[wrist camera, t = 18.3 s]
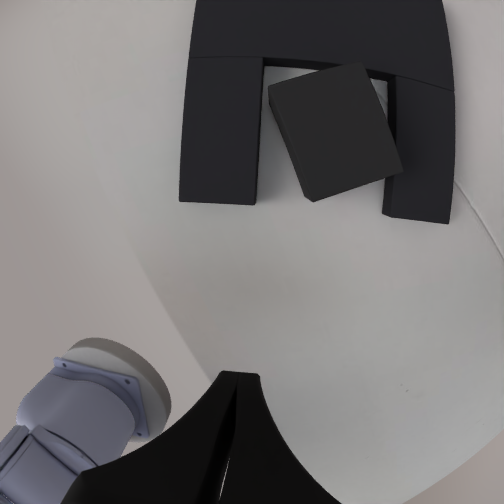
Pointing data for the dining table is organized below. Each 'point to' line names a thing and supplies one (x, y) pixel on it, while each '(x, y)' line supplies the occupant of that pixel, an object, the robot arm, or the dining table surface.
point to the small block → (334, 130)
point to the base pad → (319, 58)
